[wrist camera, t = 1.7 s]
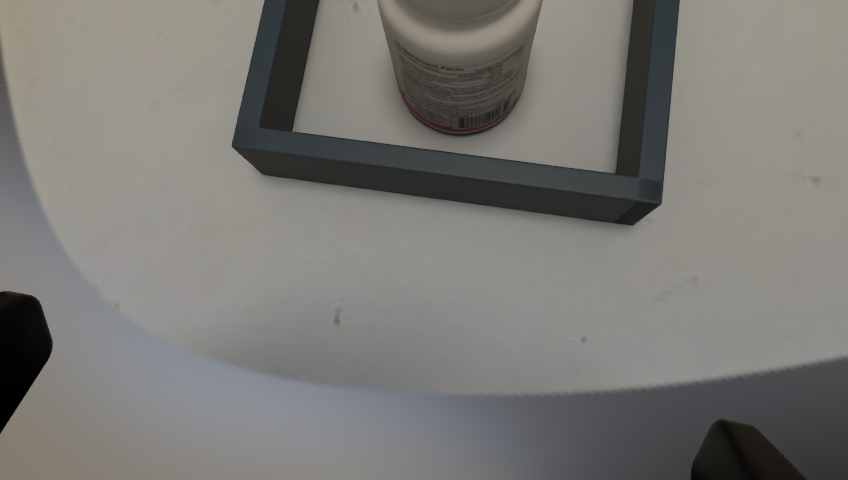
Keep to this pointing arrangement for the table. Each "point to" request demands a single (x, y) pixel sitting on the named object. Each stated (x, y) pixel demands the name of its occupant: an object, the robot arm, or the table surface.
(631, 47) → the bin
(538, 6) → the pill bottle
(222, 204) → the table surface
